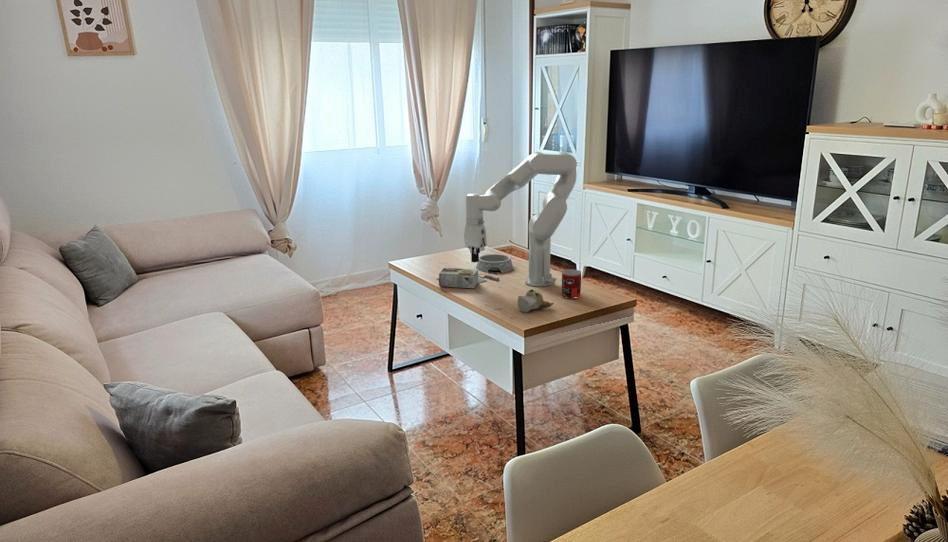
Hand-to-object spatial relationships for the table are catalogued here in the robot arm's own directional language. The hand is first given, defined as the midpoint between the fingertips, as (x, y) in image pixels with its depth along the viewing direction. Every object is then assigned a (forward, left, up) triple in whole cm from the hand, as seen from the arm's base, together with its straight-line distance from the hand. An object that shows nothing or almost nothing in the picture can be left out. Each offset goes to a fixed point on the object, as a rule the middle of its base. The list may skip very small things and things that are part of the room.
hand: (475, 261), depth 278 cm
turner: (+4, -11, -11) cm, 16 cm away
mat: (+9, 0, -11) cm, 14 cm away
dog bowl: (+12, -26, -11) cm, 31 cm away
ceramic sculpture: (-40, +8, -11) cm, 42 cm away
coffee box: (-3, +2, -7) cm, 8 cm away
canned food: (-42, -15, -11) cm, 46 cm away
